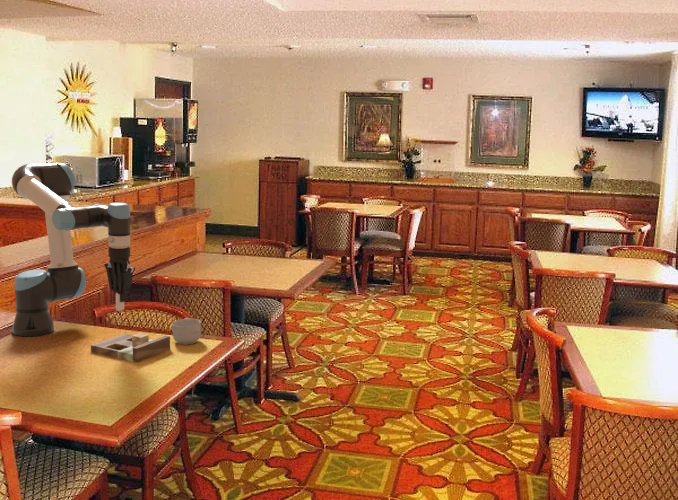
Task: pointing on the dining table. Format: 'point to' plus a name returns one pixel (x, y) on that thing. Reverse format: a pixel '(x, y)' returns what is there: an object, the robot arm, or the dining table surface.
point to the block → (139, 339)
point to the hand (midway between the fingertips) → (120, 309)
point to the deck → (131, 348)
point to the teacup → (186, 331)
